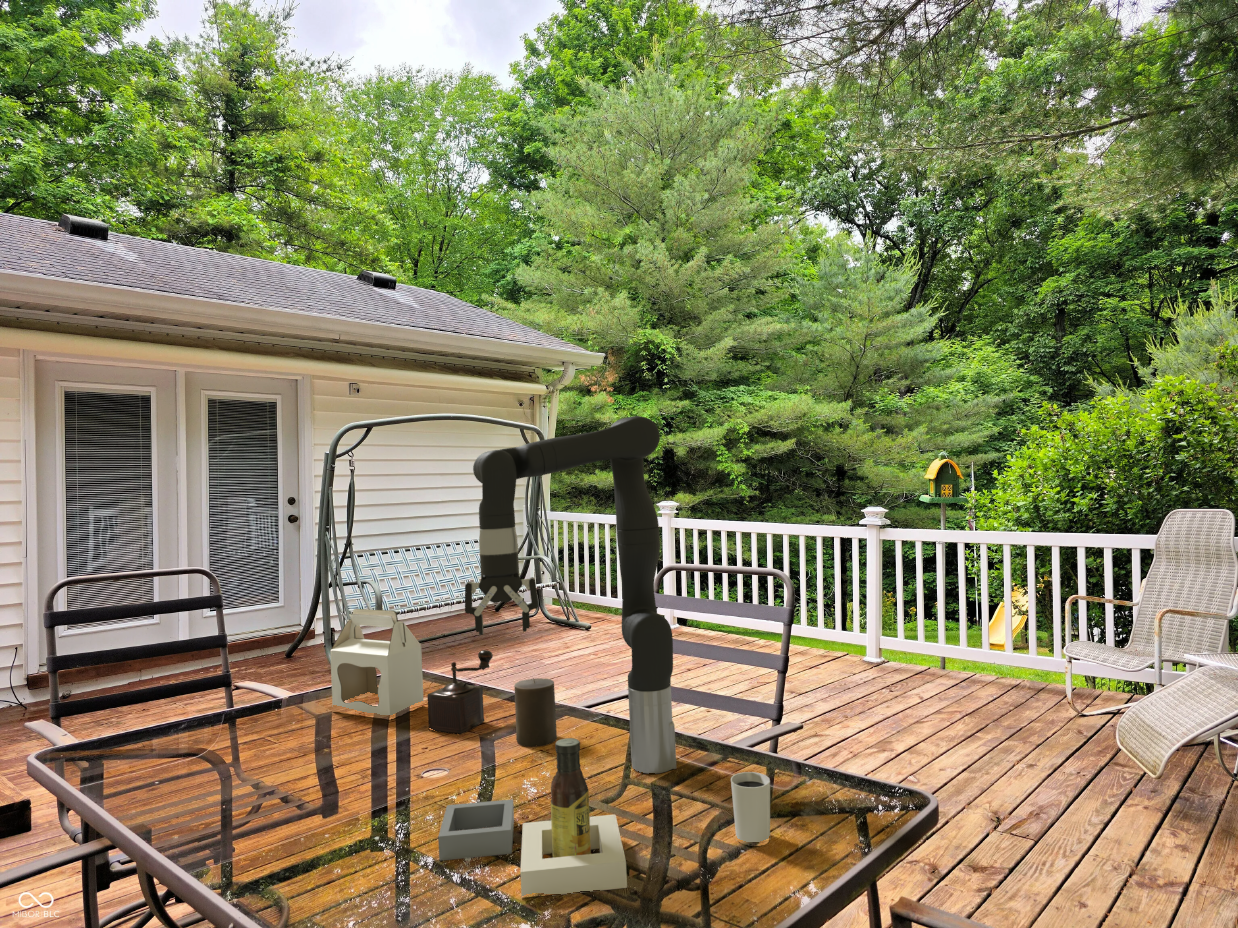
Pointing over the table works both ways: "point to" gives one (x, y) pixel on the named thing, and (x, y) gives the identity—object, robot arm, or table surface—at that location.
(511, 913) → the table surface
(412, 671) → the gable box
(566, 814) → the sauce bottle
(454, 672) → the manual coffee grinder
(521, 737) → the pillar candle
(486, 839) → the frame
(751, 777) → the white coffee cup
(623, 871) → the socket collar
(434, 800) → the table surface
